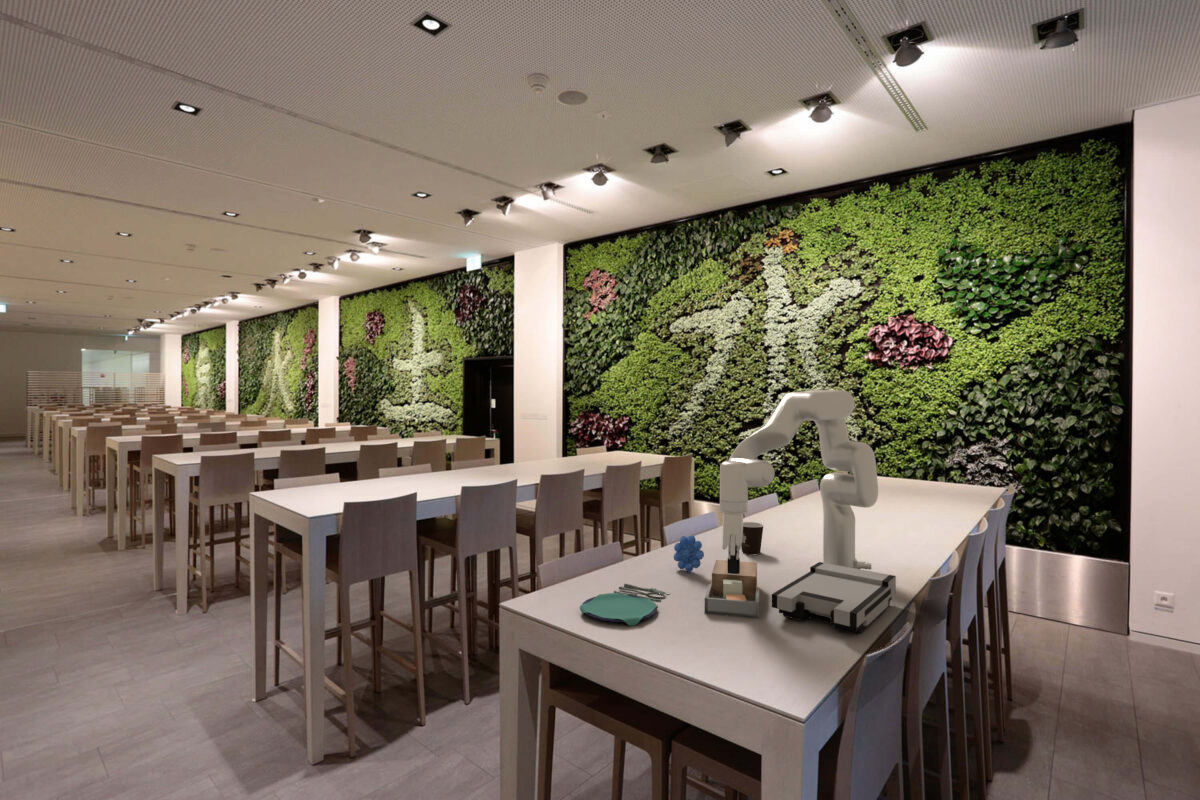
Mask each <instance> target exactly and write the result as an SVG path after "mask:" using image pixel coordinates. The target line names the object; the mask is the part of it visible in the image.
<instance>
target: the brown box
mask: <svg viewBox="0 0 1200 800" xmlns="http://www.w3.org/2000/svg"><path fill="white" fill-rule="evenodd" d="M723 579H729V580H742V595H745V598H748V599H756V588H758V562H751V561H740V573H739V574H731V573H728V560H723V559H715V561H714V566H713V568H712V572H711V584H712V595H713V596H723Z"/></svg>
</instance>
